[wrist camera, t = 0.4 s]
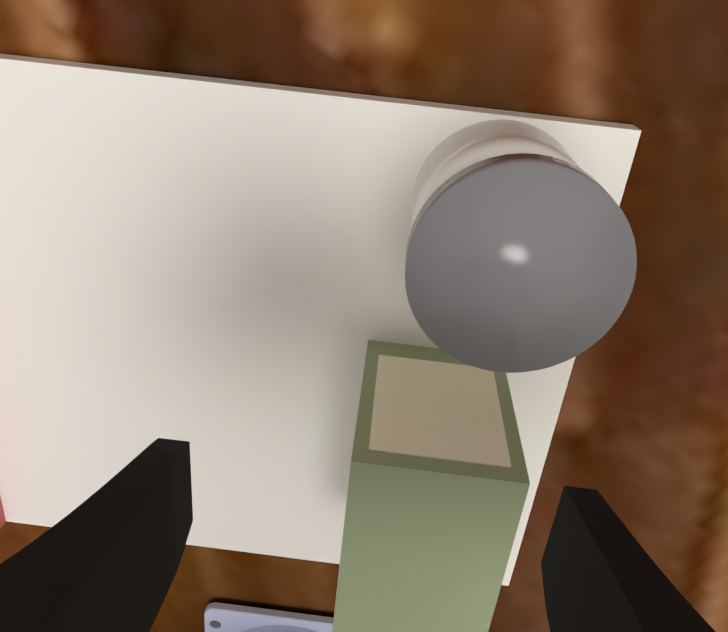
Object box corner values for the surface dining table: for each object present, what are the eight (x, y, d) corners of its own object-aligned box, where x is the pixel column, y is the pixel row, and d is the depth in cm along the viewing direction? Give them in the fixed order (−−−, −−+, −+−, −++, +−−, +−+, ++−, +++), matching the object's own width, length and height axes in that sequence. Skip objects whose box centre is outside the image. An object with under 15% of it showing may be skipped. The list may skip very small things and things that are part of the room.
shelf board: (506, 569, 27) (514, 630, 24) (-23, 502, 27) (-66, 554, 25) (632, 124, 18) (666, 148, 16) (-137, 37, 19) (-221, 47, 16)
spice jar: (560, 291, 20) (601, 384, 15) (398, 272, 20) (392, 359, 16) (604, 126, 18) (667, 178, 13) (420, 105, 18) (421, 150, 13)
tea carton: (466, 514, 24) (478, 663, 19) (349, 499, 25) (330, 644, 19) (502, 355, 21) (530, 482, 16) (367, 338, 21) (351, 460, 16)
